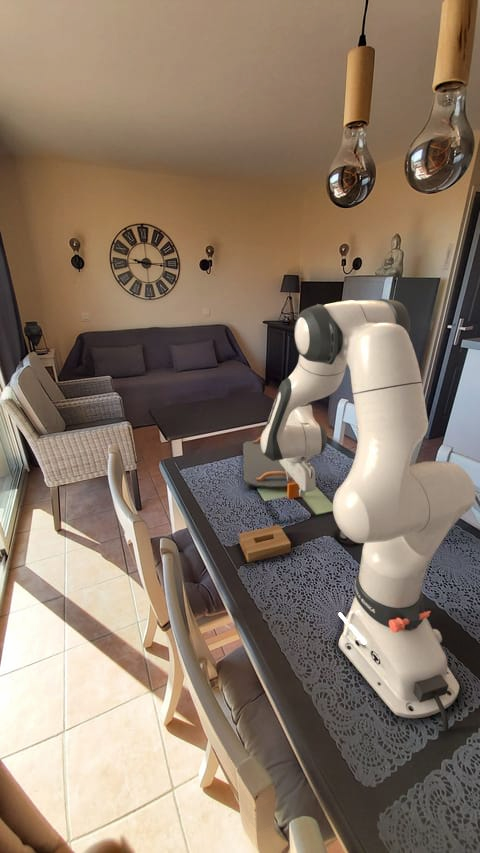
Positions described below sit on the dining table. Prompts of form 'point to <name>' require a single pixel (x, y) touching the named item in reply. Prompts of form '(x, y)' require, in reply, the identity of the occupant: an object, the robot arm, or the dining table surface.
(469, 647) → the dining table surface
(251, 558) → the token holder
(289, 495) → the block
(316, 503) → the mat
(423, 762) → the dining table surface
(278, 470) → the serving tray
